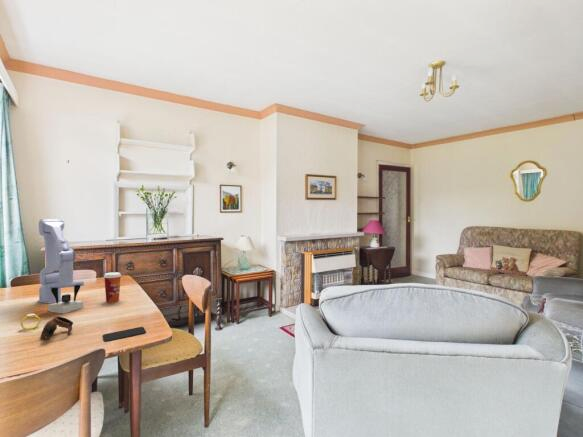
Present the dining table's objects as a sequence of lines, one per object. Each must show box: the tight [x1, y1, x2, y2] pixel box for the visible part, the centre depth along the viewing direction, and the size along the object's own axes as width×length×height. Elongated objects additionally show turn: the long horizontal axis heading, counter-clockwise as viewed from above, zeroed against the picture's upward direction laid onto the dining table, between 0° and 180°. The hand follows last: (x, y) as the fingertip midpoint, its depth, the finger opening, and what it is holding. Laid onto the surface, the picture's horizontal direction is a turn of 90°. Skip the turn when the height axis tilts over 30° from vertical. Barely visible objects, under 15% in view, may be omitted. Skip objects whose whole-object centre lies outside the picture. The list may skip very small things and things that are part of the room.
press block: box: [47, 299, 84, 314], centre depth 152 cm, size 10×10×3 cm
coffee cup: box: [103, 271, 122, 304], centre depth 166 cm, size 8×8×15 cm
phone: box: [102, 326, 147, 343], centre depth 124 cm, size 7×1×15 cm
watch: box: [20, 313, 41, 330], centre depth 128 cm, size 6×3×6 cm, turn 128°
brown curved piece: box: [40, 316, 74, 341], centre depth 121 cm, size 12×10×8 cm
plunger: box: [61, 293, 72, 304], centre depth 152 cm, size 4×4×7 cm
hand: (66, 301), depth 152 cm, fingers open, 6 cm apart
